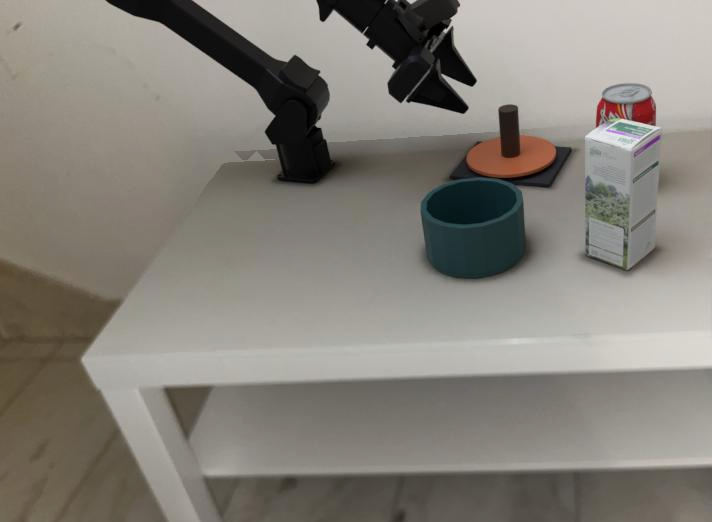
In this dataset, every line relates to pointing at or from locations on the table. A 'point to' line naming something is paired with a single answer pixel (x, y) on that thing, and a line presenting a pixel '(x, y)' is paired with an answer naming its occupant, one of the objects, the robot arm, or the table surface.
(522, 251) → the round pot
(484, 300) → the table surface
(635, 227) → the syrup box
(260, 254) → the table surface
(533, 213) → the table surface
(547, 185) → the mat
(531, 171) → the lid
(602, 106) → the soda can
